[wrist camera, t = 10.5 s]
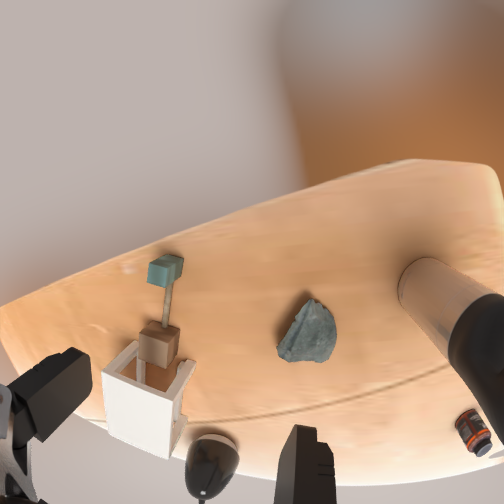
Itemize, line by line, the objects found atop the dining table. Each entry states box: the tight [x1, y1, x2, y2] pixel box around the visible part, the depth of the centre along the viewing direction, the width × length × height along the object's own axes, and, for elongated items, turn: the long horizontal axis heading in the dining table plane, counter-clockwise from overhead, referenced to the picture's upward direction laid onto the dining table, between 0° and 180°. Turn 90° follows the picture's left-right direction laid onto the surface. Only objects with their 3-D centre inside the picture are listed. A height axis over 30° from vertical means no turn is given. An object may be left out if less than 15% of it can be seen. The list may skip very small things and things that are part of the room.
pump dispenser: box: [185, 434, 240, 504], centre depth 43 cm, size 10×10×15 cm
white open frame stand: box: [101, 340, 196, 460], centre depth 44 cm, size 12×16×11 cm
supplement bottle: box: [456, 410, 492, 457], centre depth 37 cm, size 6×6×11 cm
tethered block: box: [138, 254, 184, 369], centre depth 42 cm, size 5×17×6 cm, turn 167°
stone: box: [276, 299, 337, 363], centre depth 41 cm, size 11×4×10 cm
